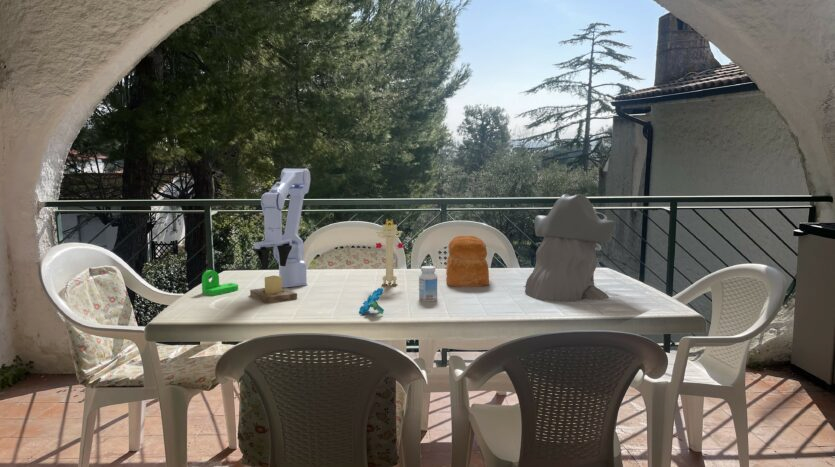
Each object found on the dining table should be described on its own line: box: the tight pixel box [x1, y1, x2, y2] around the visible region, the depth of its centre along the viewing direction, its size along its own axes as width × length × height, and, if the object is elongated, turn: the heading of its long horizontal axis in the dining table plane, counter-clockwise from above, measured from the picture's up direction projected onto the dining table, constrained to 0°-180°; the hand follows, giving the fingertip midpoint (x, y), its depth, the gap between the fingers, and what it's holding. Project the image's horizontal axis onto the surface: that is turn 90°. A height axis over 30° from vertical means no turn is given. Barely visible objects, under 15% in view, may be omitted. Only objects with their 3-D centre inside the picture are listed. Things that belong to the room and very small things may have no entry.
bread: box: [445, 235, 490, 288], centre depth 228 cm, size 16×26×17 cm, turn 178°
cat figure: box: [375, 219, 404, 287], centre depth 220 cm, size 10×9×25 cm
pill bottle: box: [418, 265, 438, 302], centre depth 197 cm, size 6×6×11 cm
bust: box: [523, 193, 616, 303], centre depth 205 cm, size 34×34×35 cm
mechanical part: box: [201, 269, 239, 297], centre depth 209 cm, size 12×6×8 cm, turn 145°
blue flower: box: [358, 286, 385, 315], centre depth 180 cm, size 11×6×10 cm
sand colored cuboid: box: [264, 275, 282, 294], centre depth 200 cm, size 4×4×7 cm
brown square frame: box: [249, 287, 298, 304], centre depth 200 cm, size 11×14×2 cm
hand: (274, 267), depth 204 cm, fingers open, 7 cm apart
